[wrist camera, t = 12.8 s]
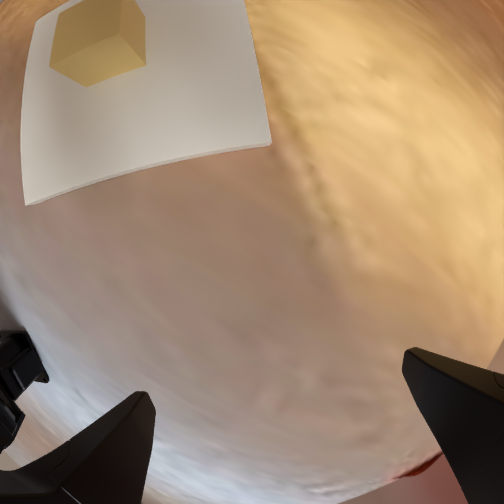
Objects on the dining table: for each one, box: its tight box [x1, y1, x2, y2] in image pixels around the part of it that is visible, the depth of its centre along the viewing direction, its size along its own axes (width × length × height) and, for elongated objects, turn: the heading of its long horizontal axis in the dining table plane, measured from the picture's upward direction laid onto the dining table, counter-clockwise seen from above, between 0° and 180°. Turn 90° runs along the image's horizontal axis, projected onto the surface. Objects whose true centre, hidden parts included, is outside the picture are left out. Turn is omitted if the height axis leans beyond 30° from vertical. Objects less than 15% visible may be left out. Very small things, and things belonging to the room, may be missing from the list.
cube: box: [49, 0, 146, 88], centre depth 12 cm, size 5×5×5 cm
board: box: [21, 0, 272, 206], centre depth 15 cm, size 20×20×2 cm
